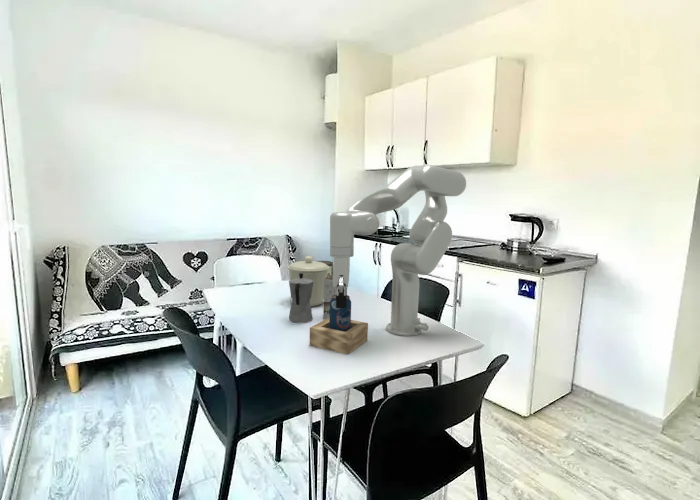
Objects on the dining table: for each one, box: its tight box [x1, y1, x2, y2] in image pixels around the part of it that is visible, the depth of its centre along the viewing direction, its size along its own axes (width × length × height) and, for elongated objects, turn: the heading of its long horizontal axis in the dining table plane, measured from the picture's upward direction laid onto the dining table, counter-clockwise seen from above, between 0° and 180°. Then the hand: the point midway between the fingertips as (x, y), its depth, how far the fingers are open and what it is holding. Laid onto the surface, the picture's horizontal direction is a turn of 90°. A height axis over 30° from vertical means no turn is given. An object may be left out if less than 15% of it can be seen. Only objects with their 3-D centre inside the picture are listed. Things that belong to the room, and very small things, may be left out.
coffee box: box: [322, 275, 337, 321], centre depth 162 cm, size 9×6×16 cm
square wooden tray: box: [309, 317, 369, 355], centre depth 136 cm, size 14×14×6 cm
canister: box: [286, 255, 329, 307], centre depth 180 cm, size 18×18×21 cm
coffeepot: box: [288, 273, 314, 324], centre depth 157 cm, size 15×9×18 cm, turn 176°
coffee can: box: [316, 260, 333, 277], centre depth 205 cm, size 10×10×14 cm
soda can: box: [329, 295, 352, 332], centre depth 135 cm, size 7×7×12 cm
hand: (341, 303), depth 134 cm, fingers open, 9 cm apart
